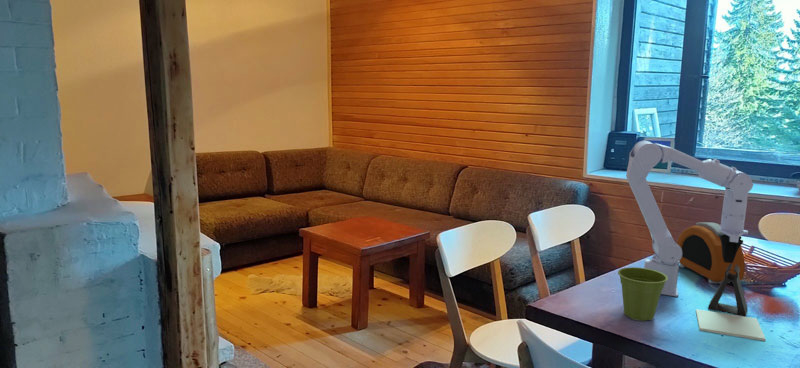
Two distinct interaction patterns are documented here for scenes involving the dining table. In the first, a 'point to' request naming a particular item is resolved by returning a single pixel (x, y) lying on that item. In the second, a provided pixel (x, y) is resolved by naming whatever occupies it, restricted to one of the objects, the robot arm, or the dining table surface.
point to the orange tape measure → (707, 252)
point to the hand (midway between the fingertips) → (727, 261)
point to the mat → (729, 324)
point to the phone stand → (740, 299)
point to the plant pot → (641, 291)
